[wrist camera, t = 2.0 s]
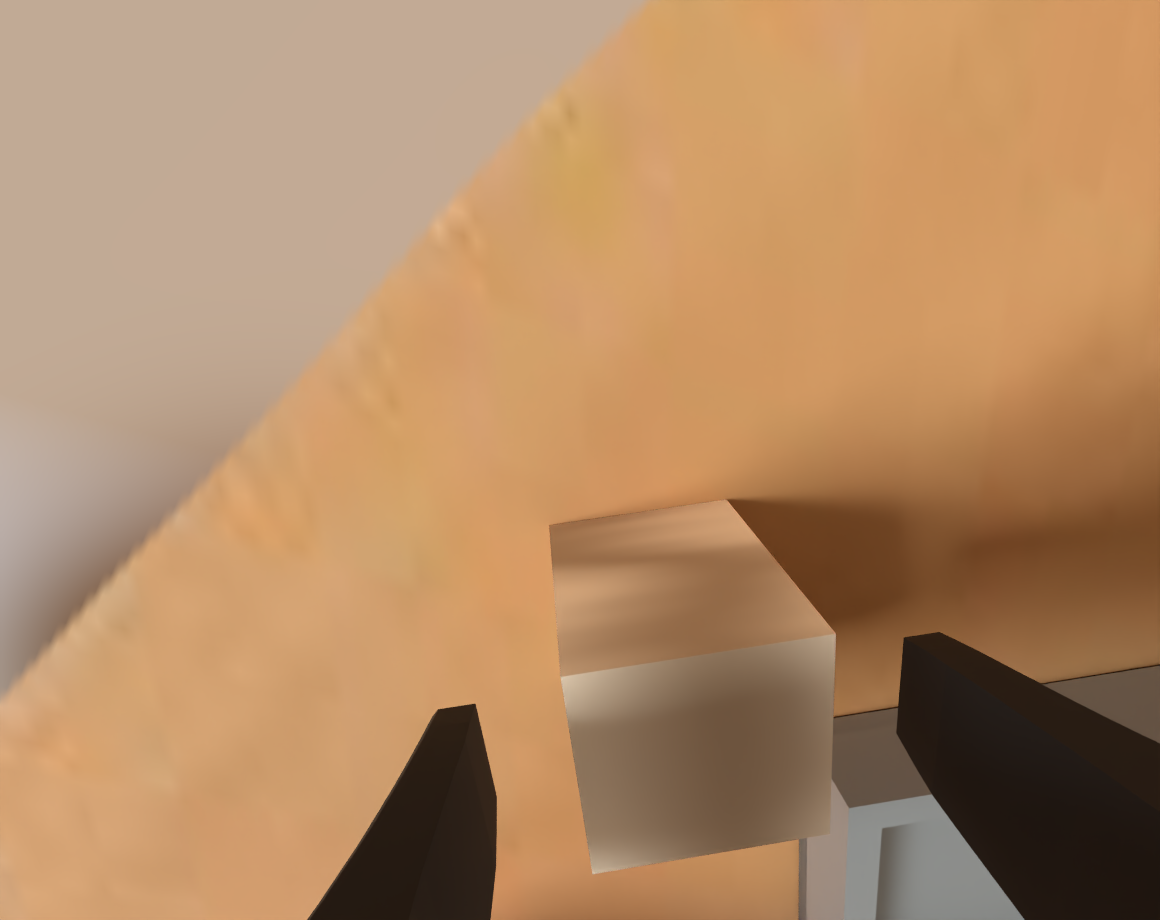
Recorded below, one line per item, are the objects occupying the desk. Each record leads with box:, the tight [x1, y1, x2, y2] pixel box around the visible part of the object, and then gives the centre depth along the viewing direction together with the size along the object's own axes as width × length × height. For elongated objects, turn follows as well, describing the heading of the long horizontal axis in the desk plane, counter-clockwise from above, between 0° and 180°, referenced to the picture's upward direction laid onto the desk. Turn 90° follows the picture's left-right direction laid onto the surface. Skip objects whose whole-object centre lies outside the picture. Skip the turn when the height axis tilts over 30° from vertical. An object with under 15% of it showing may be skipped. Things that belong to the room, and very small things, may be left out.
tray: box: [799, 666, 1160, 920], centre depth 16 cm, size 13×13×2 cm
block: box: [549, 499, 836, 874], centre depth 11 cm, size 4×4×5 cm
